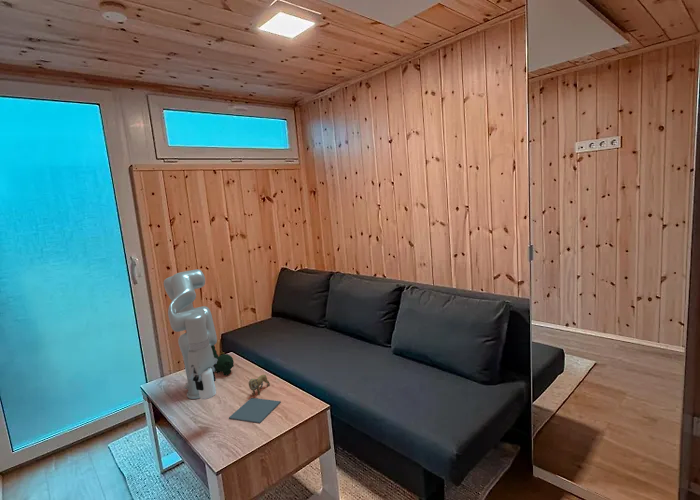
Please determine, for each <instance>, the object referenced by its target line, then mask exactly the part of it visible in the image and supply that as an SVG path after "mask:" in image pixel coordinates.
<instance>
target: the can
mask: <svg viewBox="0 0 700 500" xmlns="http://www.w3.org/2000/svg"><path fill="white" fill-rule="evenodd" d="M197 378H198V375H197ZM201 381H202V383H203V388H204V389H203V390H198V391H199V396H200V398H199V399H201V400H209V399H212V398H213V397H215V396H216V393H217V389H216V384H215V382H214V377H213V372H212V369H211V368H209V369H208V370H206V371H204V372H203V373H202V374H201Z"/></svg>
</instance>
